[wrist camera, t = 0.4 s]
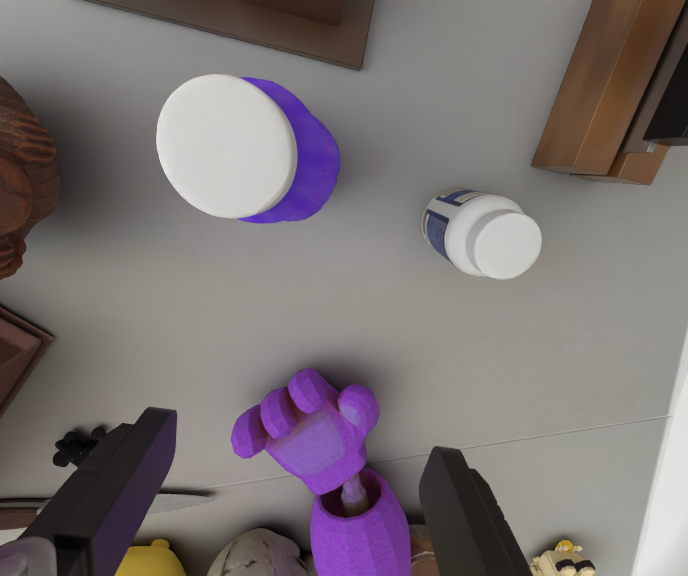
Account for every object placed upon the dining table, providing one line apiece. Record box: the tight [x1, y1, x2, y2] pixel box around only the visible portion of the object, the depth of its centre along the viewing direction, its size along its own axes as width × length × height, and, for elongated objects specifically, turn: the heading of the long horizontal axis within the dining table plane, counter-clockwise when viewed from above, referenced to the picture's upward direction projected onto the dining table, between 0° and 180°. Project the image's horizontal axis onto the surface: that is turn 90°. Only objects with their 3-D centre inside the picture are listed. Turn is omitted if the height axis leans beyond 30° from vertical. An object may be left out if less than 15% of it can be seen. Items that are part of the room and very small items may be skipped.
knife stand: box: [531, 0, 686, 185], centre depth 23 cm, size 15×6×5 cm, turn 168°
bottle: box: [156, 74, 340, 223], centre depth 18 cm, size 7×6×17 cm
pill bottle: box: [421, 189, 542, 279], centre depth 24 cm, size 5×5×10 cm
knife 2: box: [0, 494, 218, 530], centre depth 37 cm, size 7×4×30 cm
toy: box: [231, 368, 411, 576], centre depth 33 cm, size 15×25×10 cm, turn 8°
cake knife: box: [616, 0, 688, 154], centre depth 20 cm, size 12×2×10 cm, turn 168°
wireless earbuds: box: [53, 427, 105, 467], centre depth 34 cm, size 7×2×5 cm
